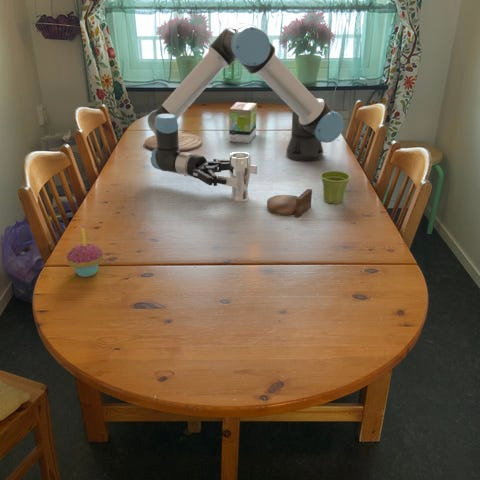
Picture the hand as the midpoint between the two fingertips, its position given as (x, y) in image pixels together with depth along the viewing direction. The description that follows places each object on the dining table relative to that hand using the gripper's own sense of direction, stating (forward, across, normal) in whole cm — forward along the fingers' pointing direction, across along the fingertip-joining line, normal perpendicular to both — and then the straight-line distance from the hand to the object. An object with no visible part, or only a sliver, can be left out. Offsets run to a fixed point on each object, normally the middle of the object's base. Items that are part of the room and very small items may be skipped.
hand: (246, 176), depth 160 cm
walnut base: (+14, -1, -8) cm, 16 cm away
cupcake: (-13, +59, -9) cm, 61 cm away
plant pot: (+25, -14, -9) cm, 30 cm away
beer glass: (-3, 0, -9) cm, 9 cm away
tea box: (-36, -63, -9) cm, 73 cm away
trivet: (-58, -40, -9) cm, 71 cm away
